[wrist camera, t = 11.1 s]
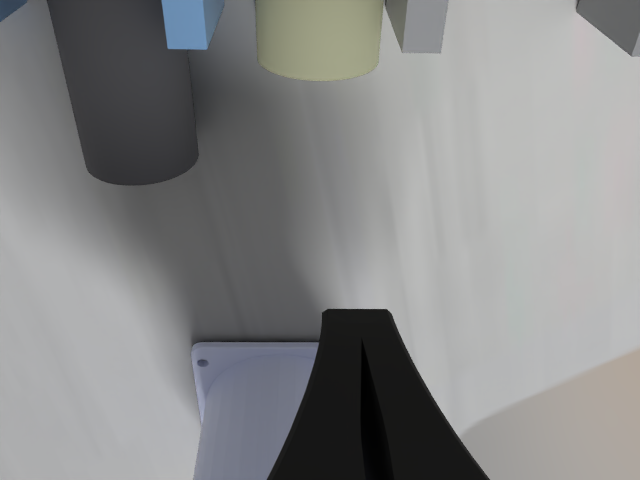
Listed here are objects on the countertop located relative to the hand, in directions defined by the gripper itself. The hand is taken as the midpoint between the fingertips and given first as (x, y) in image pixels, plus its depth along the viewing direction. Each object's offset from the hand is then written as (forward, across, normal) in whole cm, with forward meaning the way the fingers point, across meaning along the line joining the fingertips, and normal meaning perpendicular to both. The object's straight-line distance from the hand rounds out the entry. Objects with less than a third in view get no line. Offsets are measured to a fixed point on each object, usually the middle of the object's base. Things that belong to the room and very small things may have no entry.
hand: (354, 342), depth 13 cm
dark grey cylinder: (+11, +7, -4) cm, 13 cm away
